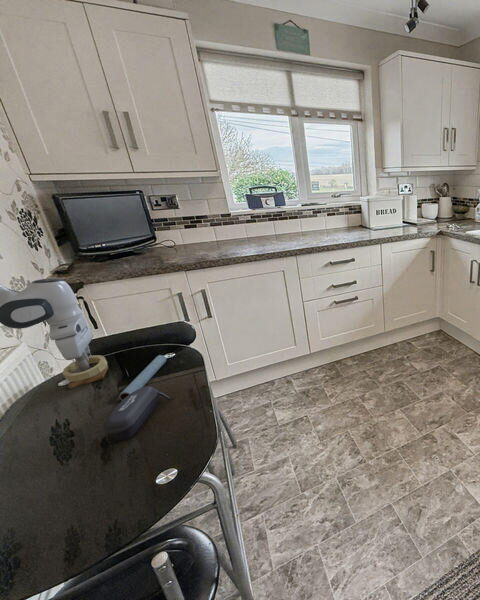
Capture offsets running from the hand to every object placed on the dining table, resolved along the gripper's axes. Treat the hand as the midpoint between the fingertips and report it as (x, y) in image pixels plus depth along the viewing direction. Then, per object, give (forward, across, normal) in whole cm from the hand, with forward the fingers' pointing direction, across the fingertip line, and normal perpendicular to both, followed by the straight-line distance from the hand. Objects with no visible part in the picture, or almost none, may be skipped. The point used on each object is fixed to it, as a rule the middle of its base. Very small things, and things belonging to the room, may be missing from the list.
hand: (87, 359), depth 115 cm
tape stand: (+5, +5, 0) cm, 7 cm away
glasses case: (+6, +45, +18) cm, 49 cm away
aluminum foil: (+6, +20, +16) cm, 26 cm away
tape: (+2, +4, 0) cm, 5 cm away
